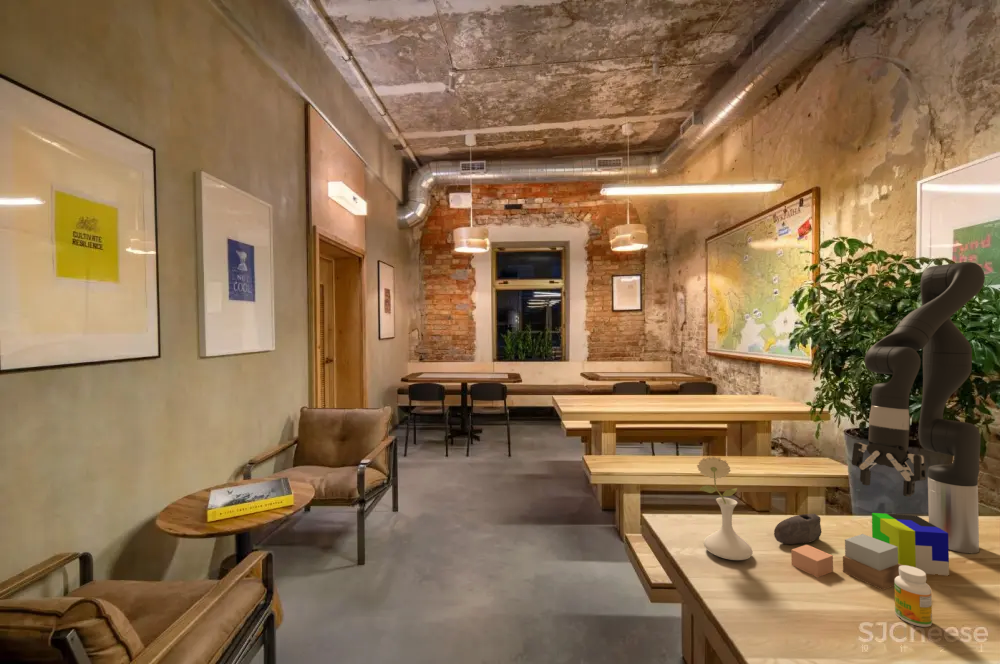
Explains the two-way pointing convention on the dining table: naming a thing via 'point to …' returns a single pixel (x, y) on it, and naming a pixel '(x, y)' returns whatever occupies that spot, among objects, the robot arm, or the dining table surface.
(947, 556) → the puzzle toy
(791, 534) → the perforated stone tool
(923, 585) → the supplement bottle
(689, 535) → the dining table surface
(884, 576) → the tower base
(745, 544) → the flower in vase
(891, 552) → the tower top
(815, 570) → the clay block
